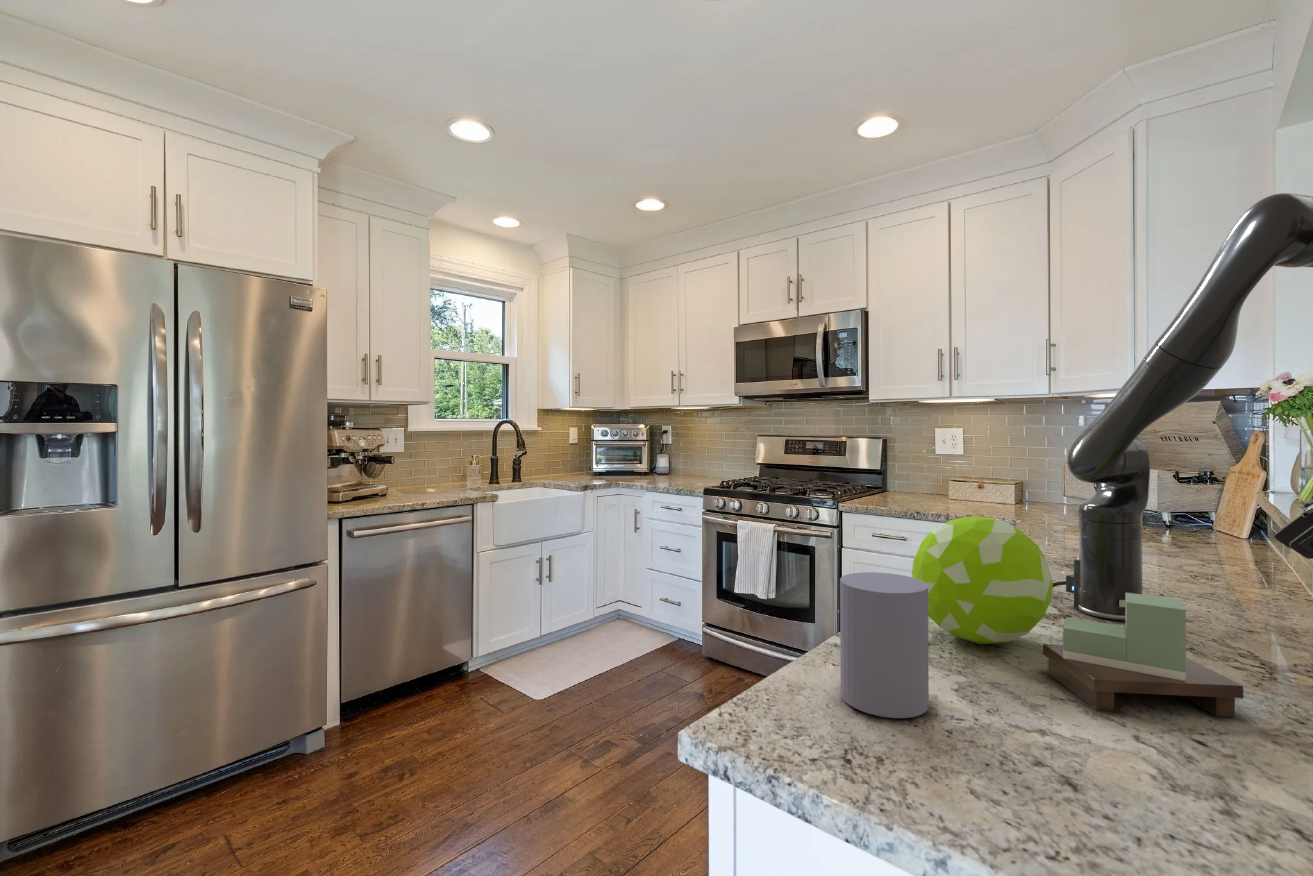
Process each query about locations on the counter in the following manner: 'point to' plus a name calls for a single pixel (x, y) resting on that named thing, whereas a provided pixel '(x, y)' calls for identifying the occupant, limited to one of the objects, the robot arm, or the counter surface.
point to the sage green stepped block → (1134, 638)
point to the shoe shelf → (1142, 683)
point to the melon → (983, 579)
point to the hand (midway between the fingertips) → (1289, 547)
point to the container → (884, 644)
